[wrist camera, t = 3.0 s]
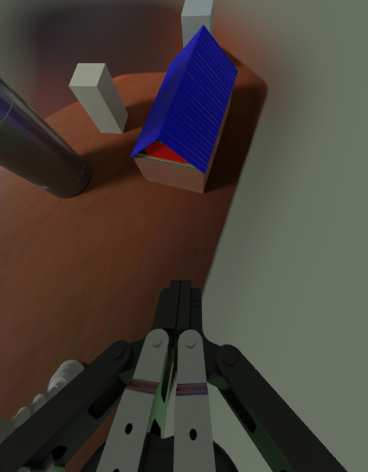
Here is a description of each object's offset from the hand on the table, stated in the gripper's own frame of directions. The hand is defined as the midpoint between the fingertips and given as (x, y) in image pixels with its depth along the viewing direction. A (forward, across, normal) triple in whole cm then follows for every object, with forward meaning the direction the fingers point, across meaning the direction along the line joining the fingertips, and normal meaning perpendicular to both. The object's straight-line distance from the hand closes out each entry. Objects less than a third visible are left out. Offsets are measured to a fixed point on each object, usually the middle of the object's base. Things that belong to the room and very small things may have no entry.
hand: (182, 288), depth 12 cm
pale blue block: (+43, -2, -22) cm, 48 cm away
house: (+29, 0, -8) cm, 30 cm away
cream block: (+34, +16, -13) cm, 40 cm away
